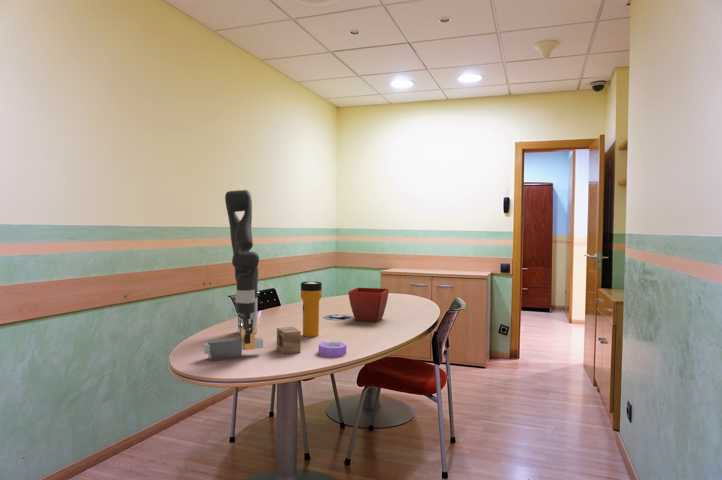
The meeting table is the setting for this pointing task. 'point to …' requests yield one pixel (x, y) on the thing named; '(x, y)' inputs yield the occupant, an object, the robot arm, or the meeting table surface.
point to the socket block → (288, 340)
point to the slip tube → (253, 344)
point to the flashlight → (311, 307)
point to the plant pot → (368, 303)
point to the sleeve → (225, 349)
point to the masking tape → (332, 349)
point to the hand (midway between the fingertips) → (245, 341)
